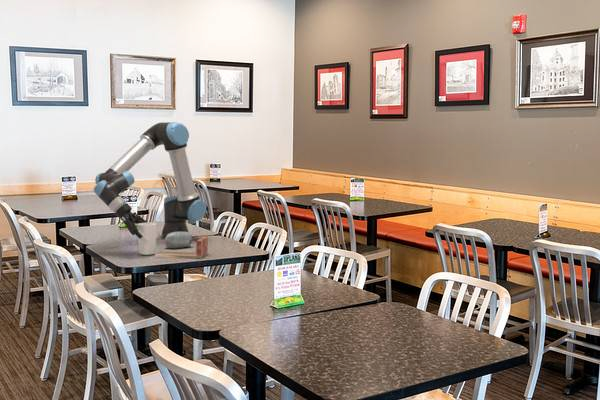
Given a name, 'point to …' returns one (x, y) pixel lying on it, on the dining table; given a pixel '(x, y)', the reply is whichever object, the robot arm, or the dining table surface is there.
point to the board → (198, 254)
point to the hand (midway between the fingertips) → (151, 240)
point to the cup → (150, 234)
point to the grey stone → (178, 240)
